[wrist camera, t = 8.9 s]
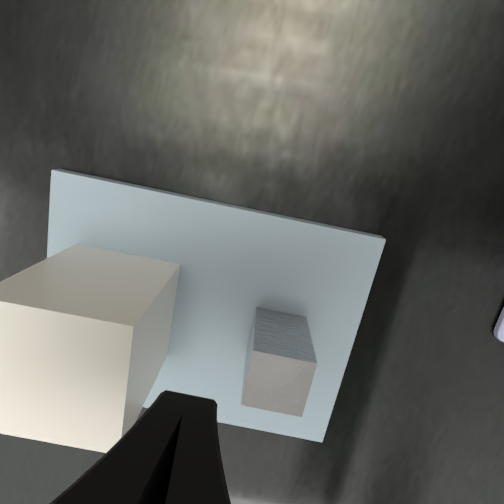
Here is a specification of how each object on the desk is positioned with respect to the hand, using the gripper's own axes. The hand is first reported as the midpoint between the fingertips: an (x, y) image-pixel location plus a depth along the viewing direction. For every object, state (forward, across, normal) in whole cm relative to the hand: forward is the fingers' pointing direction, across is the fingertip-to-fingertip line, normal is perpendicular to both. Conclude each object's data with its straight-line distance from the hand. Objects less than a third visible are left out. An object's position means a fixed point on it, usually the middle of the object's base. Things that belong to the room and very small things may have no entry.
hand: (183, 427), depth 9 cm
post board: (+10, +1, +2) cm, 11 cm away
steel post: (+10, -3, +2) cm, 11 cm away
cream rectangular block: (+10, +5, +2) cm, 11 cm away
